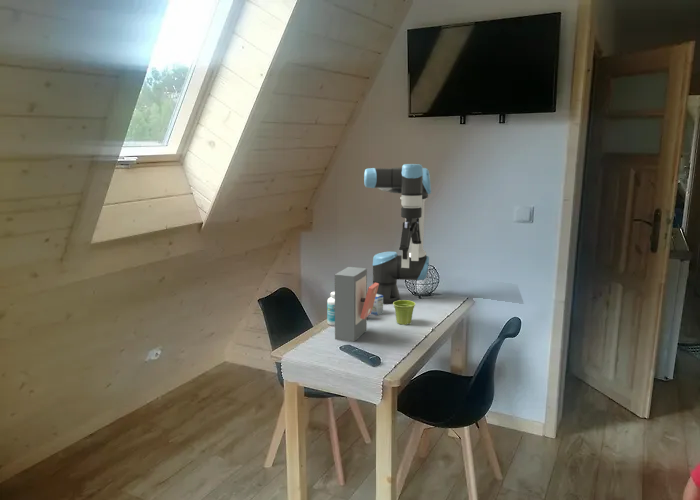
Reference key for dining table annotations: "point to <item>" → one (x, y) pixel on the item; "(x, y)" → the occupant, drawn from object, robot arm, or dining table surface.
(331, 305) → the pill bottle
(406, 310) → the plant pot
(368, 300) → the salmon pink panel
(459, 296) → the dining table surface
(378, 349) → the dining table surface
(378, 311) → the medicine box
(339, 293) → the switch panel
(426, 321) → the dining table surface
